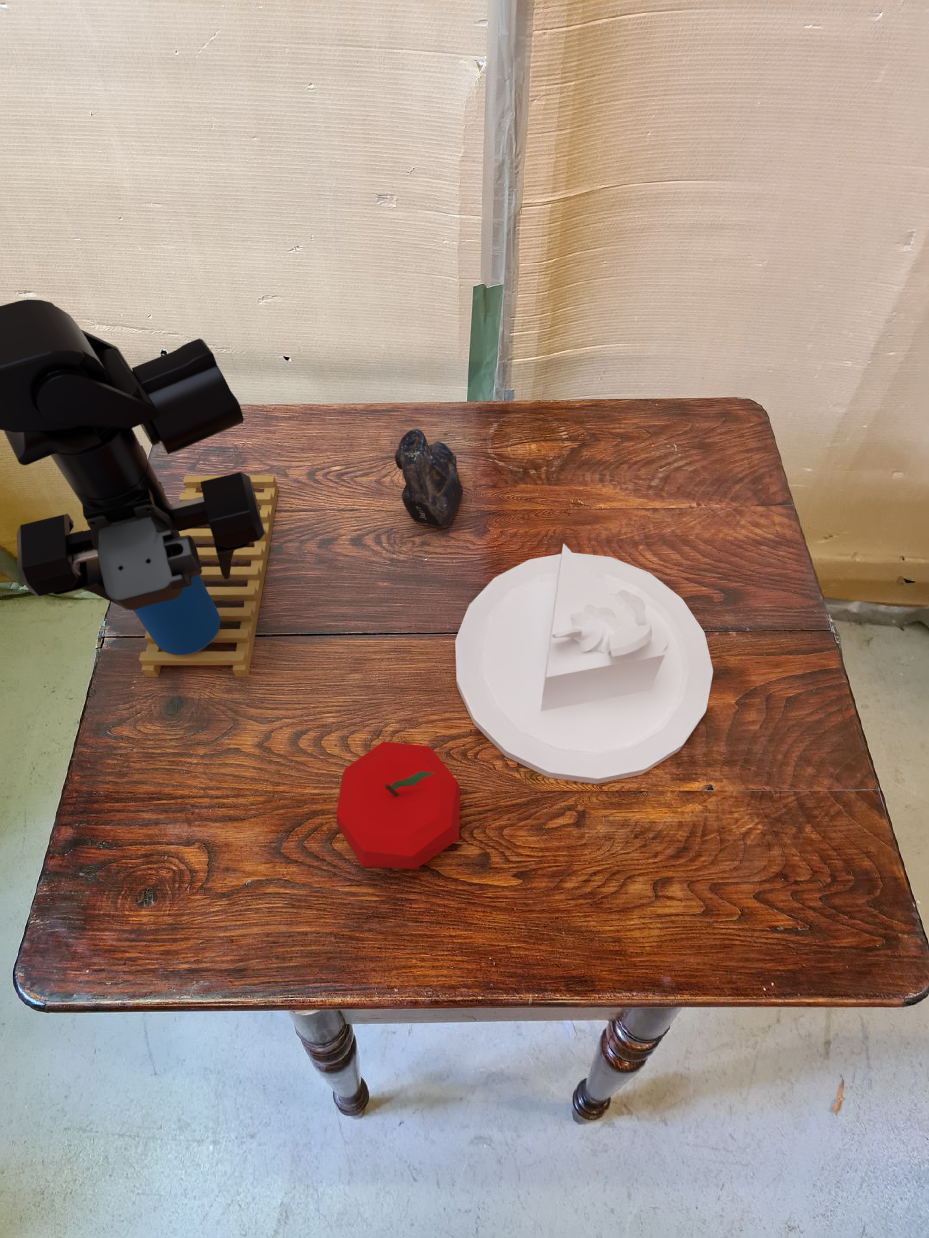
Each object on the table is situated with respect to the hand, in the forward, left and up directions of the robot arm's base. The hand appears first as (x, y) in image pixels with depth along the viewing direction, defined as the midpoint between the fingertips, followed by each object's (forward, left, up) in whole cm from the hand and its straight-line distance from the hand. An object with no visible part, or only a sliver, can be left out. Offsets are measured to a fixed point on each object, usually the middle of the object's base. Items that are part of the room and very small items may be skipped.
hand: (175, 588), depth 72 cm
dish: (+35, -14, -10) cm, 39 cm away
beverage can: (-1, 0, -7) cm, 7 cm away
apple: (+14, -24, -10) cm, 29 cm away
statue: (+27, +9, -10) cm, 30 cm away
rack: (+2, +8, -9) cm, 12 cm away
